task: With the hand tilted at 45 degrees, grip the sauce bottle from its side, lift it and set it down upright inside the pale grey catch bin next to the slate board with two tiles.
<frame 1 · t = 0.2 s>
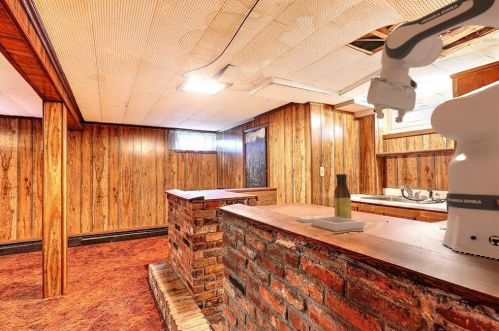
hand: (389, 120, 89), 39 cm above the counter, tool pointing down, fingers open, 8 cm apart
sauce bottle: (342, 224, 99), on the counter
tile B: (306, 221, 98), point 1 cm above the counter, touching slate board
tile A: (318, 220, 100), point 1 cm above the counter, touching slate board
catch bin: (336, 229, 87), on the counter
slate board: (310, 223, 100), on the counter
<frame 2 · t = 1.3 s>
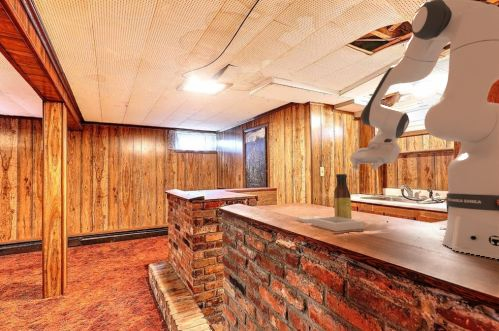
hand: (363, 168, 106), 22 cm above the counter, tool tilted 45°, fingers open, 8 cm apart
nothing on the counter moved.
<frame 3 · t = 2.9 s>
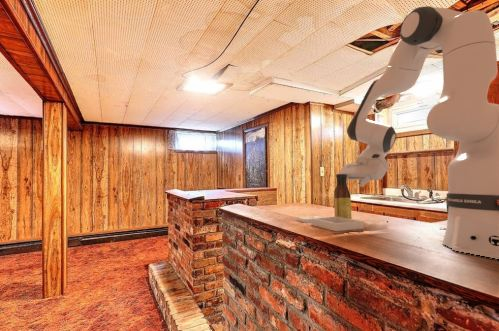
hand: (351, 185, 102), 15 cm above the counter, tool tilted 45°, fingers open, 8 cm apart
nothing on the counter moved.
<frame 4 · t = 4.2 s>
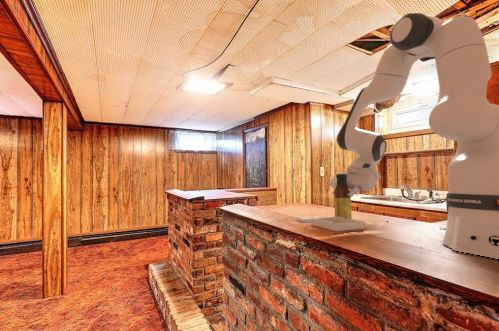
hand: (341, 195, 99), 11 cm above the counter, tool tilted 45°, fingers closed on sauce bottle, 6 cm apart
sauce bottle: (342, 224, 99), on the counter, touching gripper
everything else where it was.
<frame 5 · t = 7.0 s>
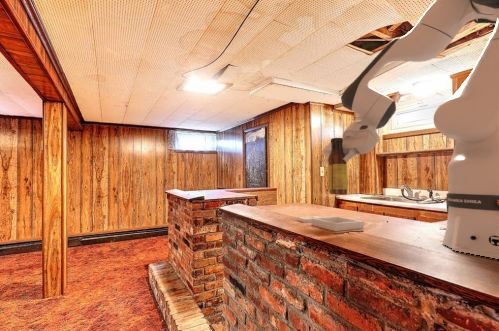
hand: (336, 161, 89), 24 cm above the counter, tool tilted 45°, fingers closed on sauce bottle, 6 cm apart
sauce bottle: (337, 194, 88), point 12 cm above the counter, touching gripper
everything else where it was.
when the fingers open (14 cm above the counter, at t = 9.5 s): sauce bottle drops 1 cm, resting on catch bin.
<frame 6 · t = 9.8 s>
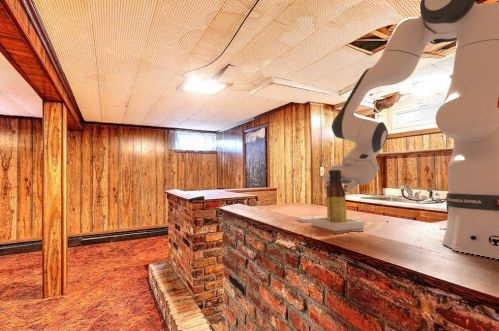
hand: (335, 190, 88), 14 cm above the counter, tool tilted 45°, fingers open, 8 cm apart
sauce bottle: (336, 227, 87), point 1 cm above the counter, touching catch bin
everything else where it was.
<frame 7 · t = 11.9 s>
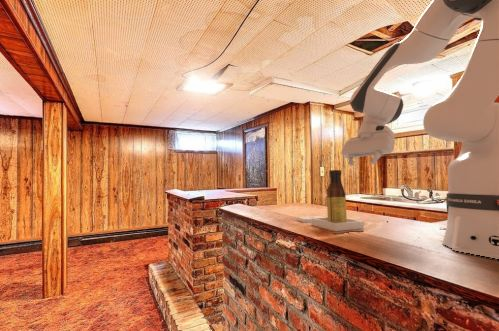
hand: (361, 164, 96), 24 cm above the counter, tool tilted 30°, fingers open, 8 cm apart
nothing on the counter moved.
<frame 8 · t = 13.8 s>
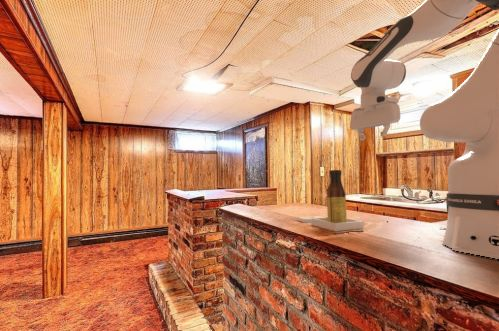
hand: (373, 138, 99), 34 cm above the counter, tool pointing down, fingers open, 8 cm apart
nothing on the counter moved.
at the end: sauce bottle inside the target area on the catch bin (0.1 cm from its centre), point 0.8 cm above the catch bin's base; sauce bottle tilted 0°; the gripper is holding nothing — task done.
